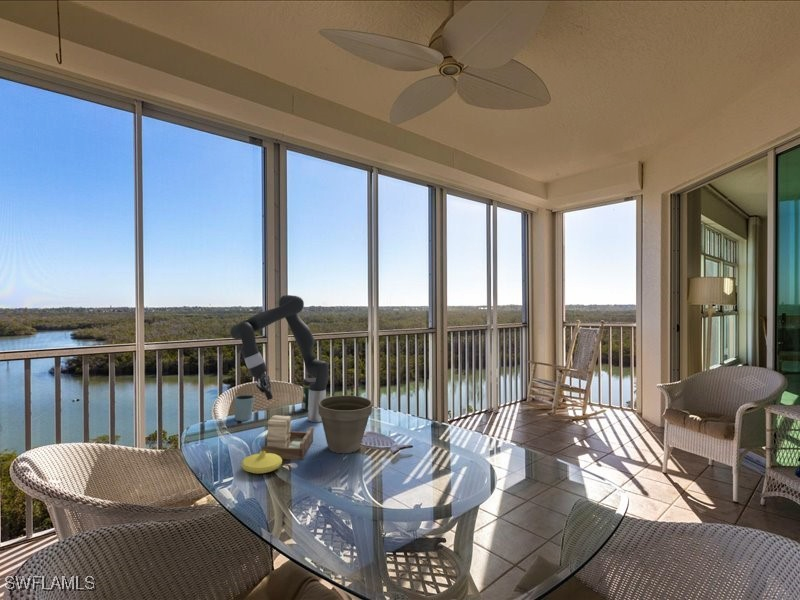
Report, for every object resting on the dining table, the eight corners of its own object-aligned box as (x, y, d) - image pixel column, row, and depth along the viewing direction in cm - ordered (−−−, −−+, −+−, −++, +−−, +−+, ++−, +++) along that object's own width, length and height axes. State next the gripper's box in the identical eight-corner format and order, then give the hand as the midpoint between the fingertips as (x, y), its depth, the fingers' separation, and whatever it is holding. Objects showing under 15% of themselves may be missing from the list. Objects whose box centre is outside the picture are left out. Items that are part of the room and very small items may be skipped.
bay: (275, 439, 199) (276, 425, 199) (312, 441, 199) (313, 427, 199) (260, 457, 178) (261, 441, 178) (302, 459, 178) (303, 443, 178)
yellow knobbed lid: (267, 457, 178) (268, 441, 178) (289, 469, 168) (290, 452, 168) (233, 468, 166) (234, 451, 166) (254, 482, 156) (255, 463, 156)
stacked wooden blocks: (272, 440, 192) (273, 415, 192) (290, 441, 192) (291, 416, 192) (266, 447, 184) (267, 420, 184) (285, 448, 184) (286, 421, 184)
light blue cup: (229, 419, 223) (230, 397, 223) (241, 414, 233) (242, 393, 232) (245, 422, 220) (246, 400, 220) (257, 417, 230) (258, 395, 229)
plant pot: (318, 460, 178) (320, 410, 177) (314, 439, 202) (316, 395, 201) (374, 457, 185) (377, 409, 184) (364, 437, 208) (367, 394, 208)
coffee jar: (314, 405, 256) (316, 376, 256) (319, 409, 250) (321, 378, 249) (299, 407, 251) (301, 377, 250) (304, 411, 244) (305, 380, 244)
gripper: (259, 364, 180) (274, 400, 182) (267, 358, 194) (281, 391, 195) (243, 371, 180) (258, 406, 182) (252, 363, 193) (266, 397, 195)
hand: (270, 398), depth 189 cm, fingers closed
